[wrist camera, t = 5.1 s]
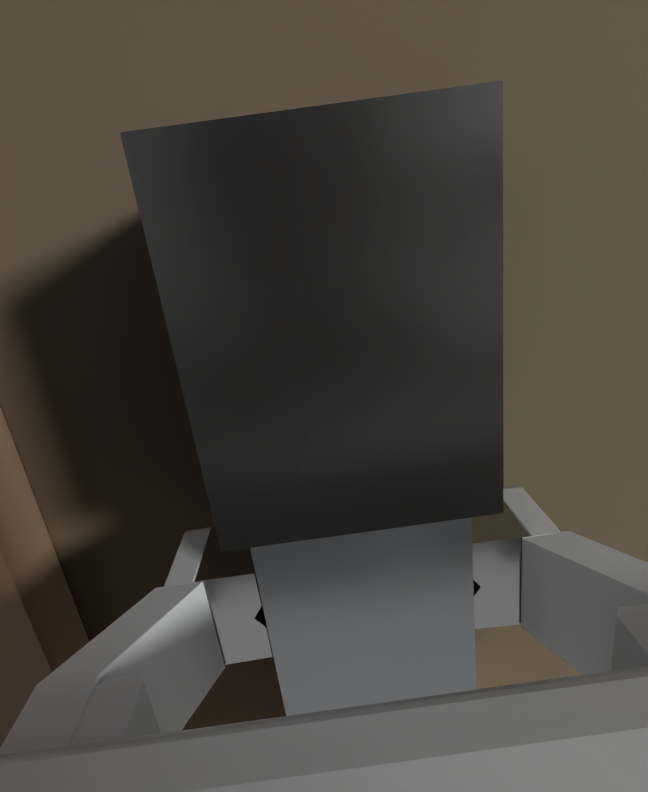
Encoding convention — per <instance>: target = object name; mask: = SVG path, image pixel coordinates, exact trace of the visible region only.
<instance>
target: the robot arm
mask: <svg viewBox="0 0 648 792" xmlns="http://www.w3.org/2000/svg"><path fill="white" fill-rule="evenodd" d="M472 550H473V584H474V619H475V629H481V628H490V627H500V626H509V625H518V624H521V627H522V628H524V629H525V630H526V631H527V632H529V633H530V634H531V635H533V636H534V637H535V638H537V639H538V640H539V641H540V642H542V643H543V644H544V645H546V646H547V647H548V648H550V649H551V650H552V651H554V652H555V653H556V654H557V655H559V656H560V657H561V658H563V659H564V660H565V661H567V662H568V663H569V664H571V665H572V666H573V667H574V668H576V669H577V670H578V671H580V672H581V673H582V674H584V675H578V676H571V677H564V678H556V679H549V680H542V681H534V682H527V683H520V684H512V685H505V686H498V687H490V688H483V689H476V690H468V691H461V692H454V693H447V694H440V695H433V696H426V697H418V698H411V699H404V700H397V701H390V702H383V703H375V704H368V705H361V706H354V707H347V708H340V709H332V710H325V711H318V712H311V713H304V714H297V715H290V716H282V717H275V718H268V719H261V720H254V721H246V722H239V723H232V724H224V725H217V726H210V727H203V728H195V729H188V730H182V729H183V727H184V726H185V725H186V723H187V722H188V720H189V719H190V717H191V716H192V715H193V713H194V712H195V710H196V709H197V707H198V706H199V705H200V703H201V702H202V700H203V699H204V697H205V696H206V695H207V693H208V692H209V690H210V689H211V687H212V686H213V685H214V683H215V682H216V680H217V679H218V677H219V676H220V675H221V673H222V672H223V670H224V669H225V665H228V664H234V663H240V662H245V661H251V660H257V659H263V658H269V657H272V655H273V652H272V647H271V643H270V638H269V634H268V629H267V624H266V620H265V615H264V610H263V606H262V601H261V596H260V592H259V587H258V582H257V578H256V573H255V569H254V564H253V559H252V555H251V550H250V548H245V549H238V550H231V551H224V552H221V550H220V546H219V542H218V538H217V533H216V529H215V527H213V528H212V527H208V528H201V529H195V530H188V531H187V532H185V533H184V535H183V537H182V540H181V542H180V545H179V548H178V550H177V553H176V555H175V558H174V561H173V563H172V566H171V568H170V571H169V574H168V576H167V579H166V582H165V584H164V587H158V588H155V589H154V590H152V591H151V592H150V593H149V594H148V595H146V596H145V597H144V598H143V599H141V600H140V601H139V602H138V603H137V604H135V605H134V606H133V607H132V608H130V609H129V610H128V611H127V612H125V613H124V614H123V615H122V616H121V617H119V618H118V619H117V620H116V621H114V622H113V623H112V624H111V625H110V626H108V627H107V628H106V629H105V630H103V631H102V632H101V633H100V634H99V635H97V636H96V637H95V638H94V639H92V640H91V641H90V642H89V643H87V644H86V645H85V646H84V647H83V648H81V649H80V650H79V651H78V652H76V653H75V654H74V655H73V656H72V657H70V658H69V659H68V660H67V661H65V662H64V663H63V664H62V665H61V666H59V667H58V668H57V669H56V670H54V671H53V672H52V673H51V674H49V675H48V676H47V677H46V678H45V679H43V680H42V681H41V682H40V683H38V684H37V685H36V687H35V689H34V690H33V692H32V694H31V696H30V697H29V699H28V701H27V703H26V704H25V706H24V708H23V709H22V711H21V713H20V715H19V716H18V718H17V720H16V722H15V723H14V725H13V727H12V728H11V730H10V732H9V734H8V735H7V737H6V739H5V741H4V742H3V744H2V746H1V747H0V792H648V563H647V562H644V561H642V560H639V559H637V558H634V557H632V556H630V555H627V554H625V553H622V552H620V551H617V550H615V549H612V548H610V547H607V546H605V545H602V544H600V543H597V542H595V541H592V540H590V539H587V538H585V537H583V536H580V535H578V534H575V533H573V532H570V531H566V532H560V530H559V529H558V528H557V527H556V526H555V525H554V523H553V522H552V521H551V520H550V519H549V518H548V517H547V515H546V514H545V513H544V512H543V511H542V510H541V509H540V507H539V506H538V505H537V504H536V503H535V502H534V501H533V499H532V498H531V497H530V496H529V495H528V494H527V493H526V491H525V490H524V489H523V488H522V487H521V486H518V485H513V486H507V487H503V513H501V514H493V515H486V516H479V517H472Z"/></svg>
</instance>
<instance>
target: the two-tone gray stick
mask: <svg viewBox="0 0 648 792" xmlns="http://www.w3.org/2000/svg"><path fill="white" fill-rule="evenodd" d="M120 134H121V138H122V143H123V147H124V151H125V155H126V159H127V163H128V167H129V172H130V176H131V180H132V184H133V188H134V192H135V197H136V201H137V205H138V209H139V213H140V217H141V222H142V226H143V230H144V234H145V238H146V242H147V246H148V251H149V255H150V259H151V263H152V267H153V271H154V276H155V280H156V284H157V288H158V292H159V296H160V301H161V305H162V309H163V313H164V317H165V321H166V325H167V330H168V334H169V338H170V342H171V346H172V350H173V355H174V359H175V363H176V367H177V371H178V375H179V380H180V384H181V388H182V392H183V396H184V400H185V404H186V409H187V413H188V417H189V421H190V425H191V429H192V434H193V438H194V442H195V446H196V450H197V454H198V459H199V463H200V467H201V471H202V475H203V479H204V484H205V488H206V492H207V496H208V500H209V504H210V508H211V513H212V517H213V521H214V525H215V529H216V533H217V538H218V542H219V546H220V550H221V552H224V551H231V550H238V549H245V548H250V550H251V555H252V559H253V564H254V569H255V573H256V578H257V582H258V587H259V592H260V596H261V601H262V606H263V610H264V615H265V620H266V624H267V629H268V634H269V638H270V643H271V647H272V652H273V657H274V661H275V666H276V671H277V675H278V680H279V685H280V689H281V694H282V699H283V703H284V708H285V713H286V716H290V715H297V714H304V713H311V712H318V711H325V710H332V709H340V708H347V707H354V706H361V705H368V704H375V703H383V702H390V701H397V700H404V699H411V698H418V697H426V696H433V695H440V694H447V693H454V692H461V691H468V690H476V654H475V619H474V584H473V550H472V517H479V516H486V515H493V514H501V513H503V164H502V81H498V82H490V83H483V84H475V85H468V86H461V87H453V88H446V89H438V90H431V91H424V92H416V93H409V94H402V95H394V96H387V97H379V98H372V99H365V100H357V101H350V102H342V103H335V104H328V105H320V106H313V107H306V108H298V109H291V110H283V111H276V112H269V113H261V114H254V115H246V116H239V117H232V118H224V119H217V120H209V121H202V122H195V123H187V124H180V125H173V126H165V127H158V128H150V129H143V130H136V131H128V132H121V133H120Z"/></svg>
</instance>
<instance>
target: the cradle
mask: <svg viewBox="0 0 648 792" xmlns="http://www.w3.org/2000/svg"><path fill="white" fill-rule="evenodd" d="M87 643H89V639H88V637H87V634H86V631H85V629H84V626H83V623H82V621H81V618H80V616H79V613H78V610H77V608H76V605H75V602H74V600H73V597H72V594H71V592H70V589H69V587H68V584H67V581H66V579H65V576H64V573H63V571H62V568H61V565H60V563H59V560H58V558H57V555H56V552H55V550H54V547H53V544H52V542H51V539H50V536H49V534H48V531H47V529H46V526H45V523H44V521H43V518H42V515H41V513H40V510H39V508H38V505H37V502H36V500H35V497H34V494H33V492H32V489H31V486H30V484H29V481H28V479H27V476H26V473H25V471H24V468H23V465H22V463H21V460H20V457H19V455H18V452H17V450H16V447H15V444H14V442H13V439H12V436H11V434H10V431H9V428H8V426H7V423H6V421H5V418H4V415H3V413H2V410H1V407H0V747H1V746H2V744H3V742H4V741H5V739H6V737H7V735H8V734H9V732H10V730H11V728H12V727H13V725H14V723H15V722H16V720H17V718H18V716H19V715H20V713H21V711H22V709H23V708H24V706H25V704H26V703H27V701H28V699H29V697H30V696H31V694H32V692H33V690H34V689H35V687H36V685H37V684H38V683H40V682H41V681H42V680H43V679H45V678H46V677H47V676H48V675H49V674H51V673H52V672H53V671H54V670H56V669H57V668H58V667H59V666H61V665H62V664H63V663H64V662H65V661H67V660H68V659H69V658H70V657H72V656H73V655H74V654H75V653H76V652H78V651H79V650H80V649H81V648H83V647H84V646H85V645H86V644H87Z"/></svg>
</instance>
